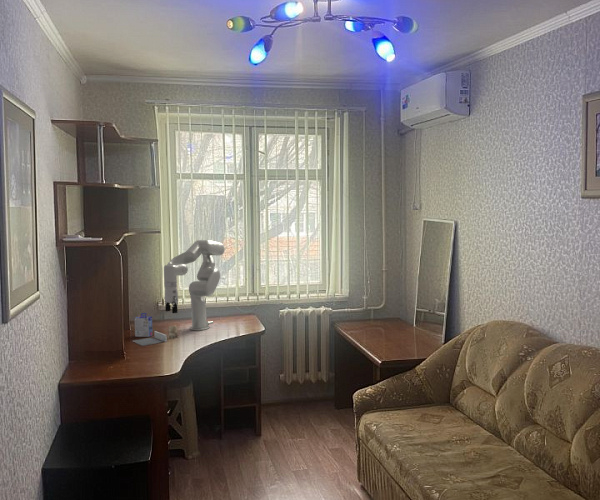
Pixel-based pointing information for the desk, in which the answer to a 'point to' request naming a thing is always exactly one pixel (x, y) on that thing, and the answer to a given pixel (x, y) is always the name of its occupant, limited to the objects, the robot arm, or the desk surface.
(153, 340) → the board
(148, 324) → the ink cartridge box
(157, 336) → the plate
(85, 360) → the desk surface
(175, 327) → the birch cylinder
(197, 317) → the robot arm
